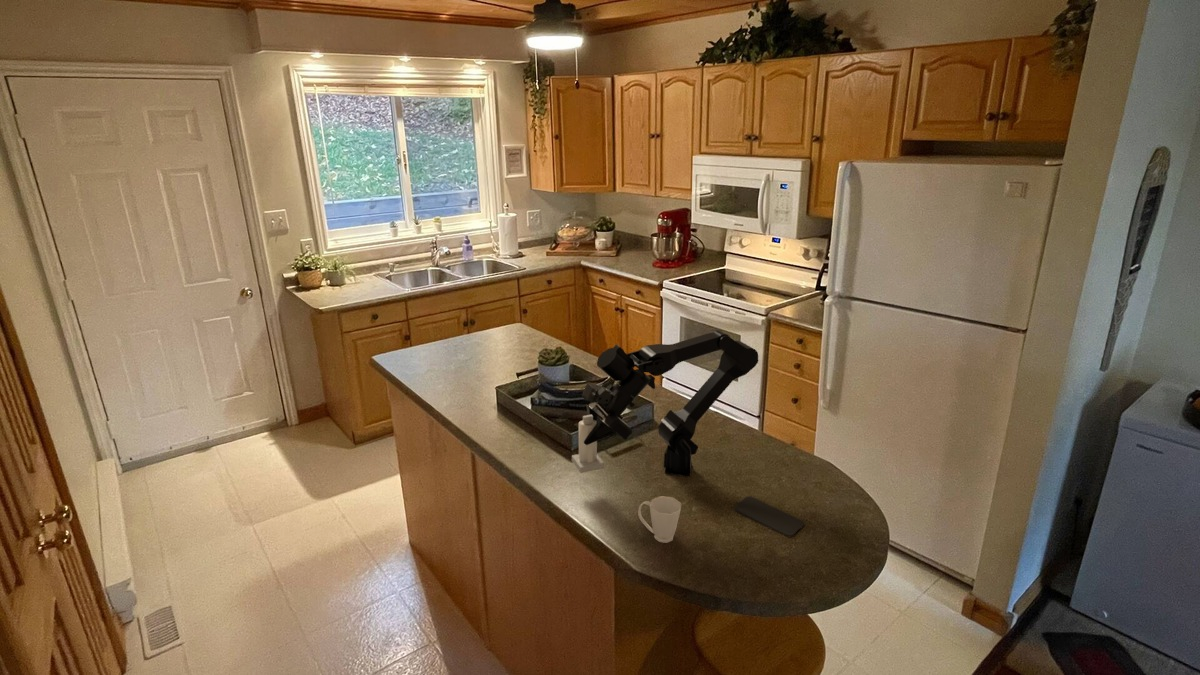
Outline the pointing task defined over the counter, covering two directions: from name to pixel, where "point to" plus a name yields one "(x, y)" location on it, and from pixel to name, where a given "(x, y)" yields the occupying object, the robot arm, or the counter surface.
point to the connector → (587, 448)
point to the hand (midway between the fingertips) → (582, 440)
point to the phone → (769, 516)
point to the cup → (662, 517)
